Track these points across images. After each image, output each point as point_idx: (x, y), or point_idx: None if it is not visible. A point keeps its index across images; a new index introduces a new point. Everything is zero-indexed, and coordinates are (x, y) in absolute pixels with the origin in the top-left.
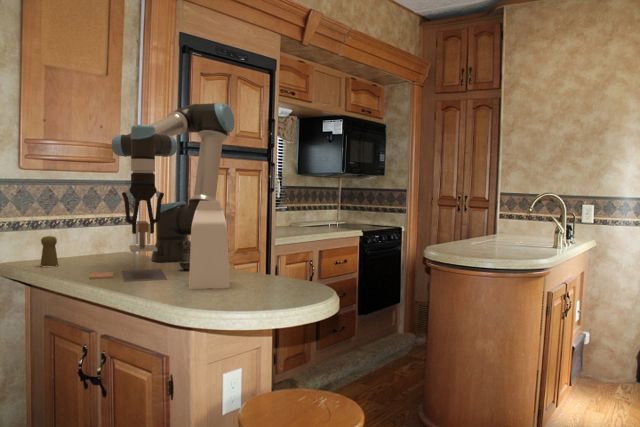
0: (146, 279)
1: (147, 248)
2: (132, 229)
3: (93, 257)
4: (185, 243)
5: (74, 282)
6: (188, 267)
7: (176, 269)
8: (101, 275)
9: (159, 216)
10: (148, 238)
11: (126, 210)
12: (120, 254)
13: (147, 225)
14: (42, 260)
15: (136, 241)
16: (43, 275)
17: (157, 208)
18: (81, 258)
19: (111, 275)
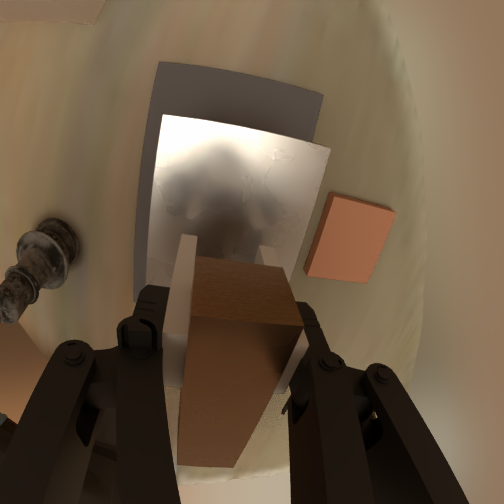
0: (234, 96)
1: (223, 148)
2: (319, 326)
3: (257, 461)
4: (8, 295)
5: (422, 209)
6: (45, 230)
7: (86, 298)
8: (359, 228)
9: (42, 386)
10: (192, 255)
11: (434, 452)
12: (204, 470)
13: (202, 297)
14: (375, 417)
15: (275, 255)
16: (419, 331)
17: (39, 486)
18: (279, 457)
19: (334, 212)
